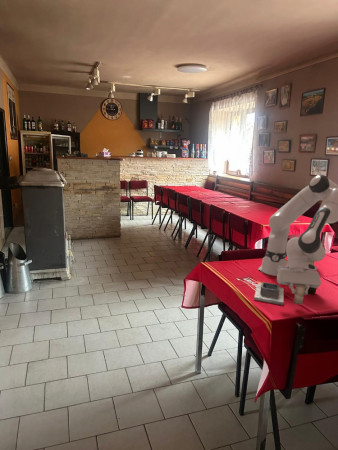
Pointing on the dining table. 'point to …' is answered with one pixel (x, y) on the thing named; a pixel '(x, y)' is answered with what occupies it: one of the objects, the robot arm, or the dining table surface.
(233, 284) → the dining table surface
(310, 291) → the coffee mug
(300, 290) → the disc
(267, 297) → the grey block with recess
